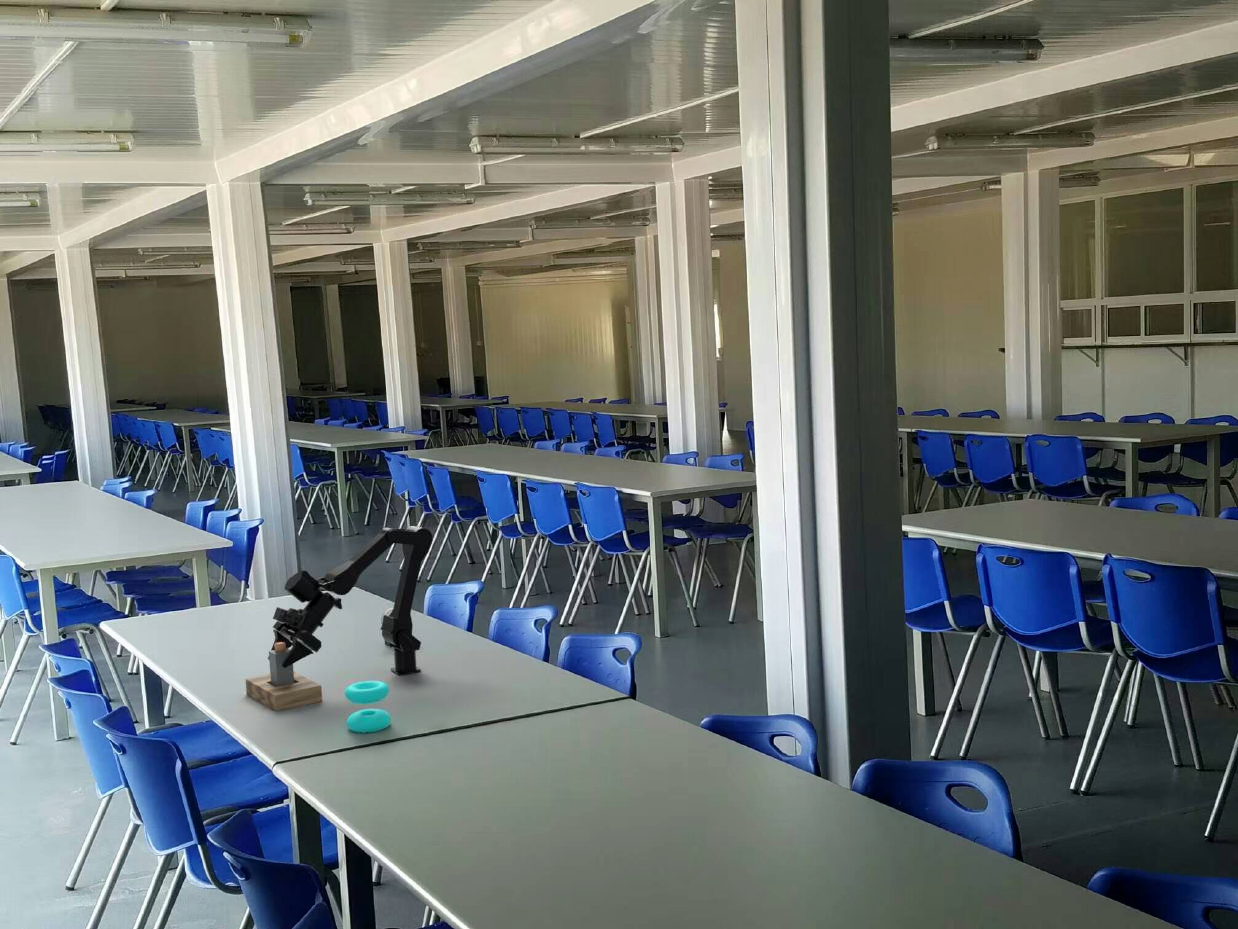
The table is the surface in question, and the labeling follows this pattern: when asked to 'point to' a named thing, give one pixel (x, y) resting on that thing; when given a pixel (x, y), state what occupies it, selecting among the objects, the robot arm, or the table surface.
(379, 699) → the donuts
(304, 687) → the wooden block with hole
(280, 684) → the gray square post
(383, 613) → the watch
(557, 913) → the table surface
